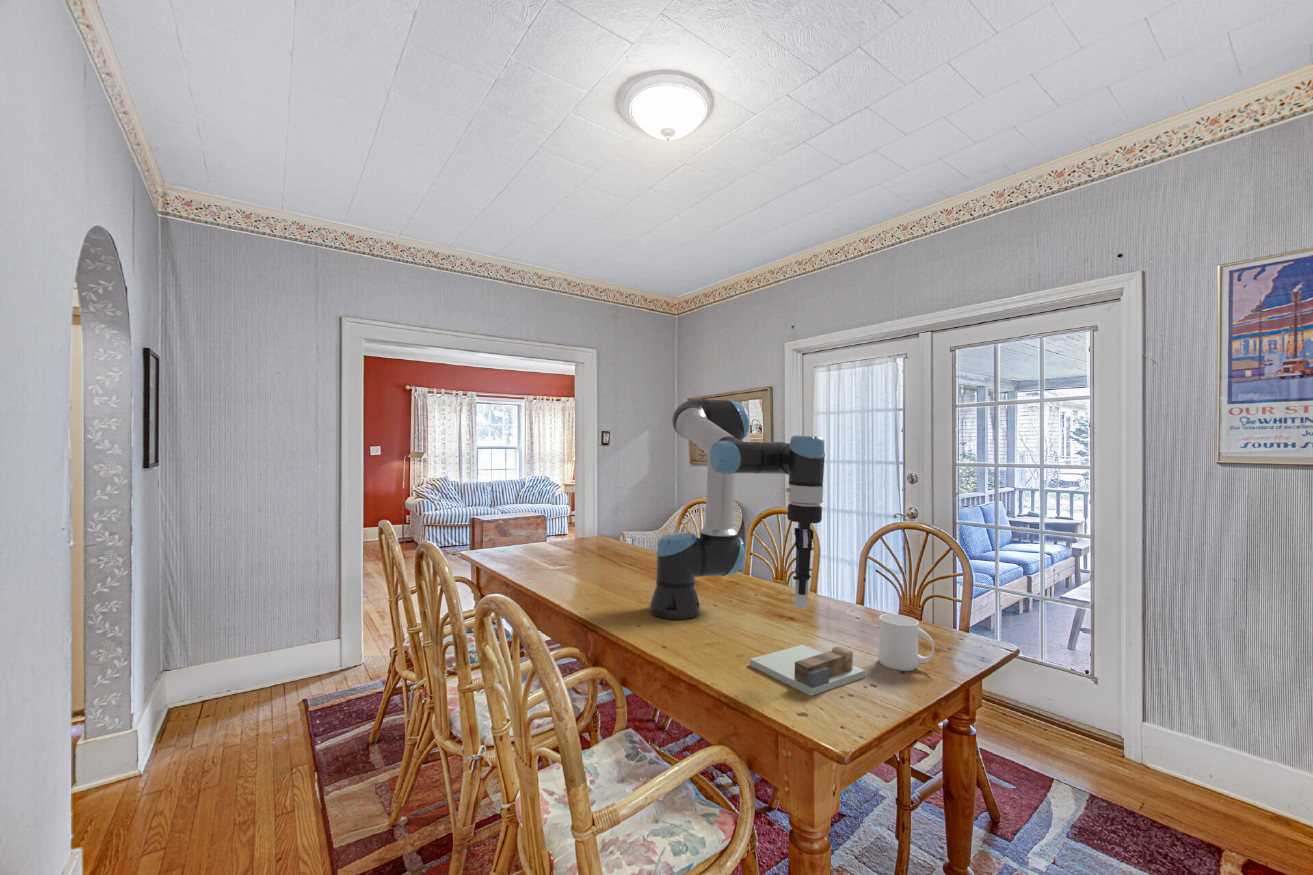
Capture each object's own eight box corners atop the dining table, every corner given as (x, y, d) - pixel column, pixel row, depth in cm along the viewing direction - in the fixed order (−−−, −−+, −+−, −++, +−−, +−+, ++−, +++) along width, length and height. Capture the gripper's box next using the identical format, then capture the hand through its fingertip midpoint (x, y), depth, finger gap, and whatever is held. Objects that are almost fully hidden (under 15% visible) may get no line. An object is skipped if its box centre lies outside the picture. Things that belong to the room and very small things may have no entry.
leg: (809, 685, 114) (809, 667, 114) (792, 677, 118) (793, 659, 118) (856, 668, 124) (856, 651, 124) (839, 661, 127) (840, 645, 127)
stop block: (807, 685, 115) (807, 671, 115) (823, 680, 117) (823, 666, 117) (812, 688, 114) (813, 673, 114) (828, 682, 116) (828, 668, 116)
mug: (932, 678, 123) (933, 630, 124) (875, 666, 130) (876, 620, 130) (935, 665, 131) (936, 620, 131) (881, 654, 137) (882, 611, 137)
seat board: (749, 665, 128) (749, 658, 128) (802, 650, 138) (802, 644, 138) (810, 695, 113) (811, 688, 113) (865, 677, 123) (865, 670, 123)
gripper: (786, 499, 132) (782, 597, 132) (789, 506, 119) (784, 615, 119) (819, 501, 130) (815, 600, 131) (825, 508, 117) (820, 618, 118)
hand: (800, 607), depth 125 cm, fingers closed
